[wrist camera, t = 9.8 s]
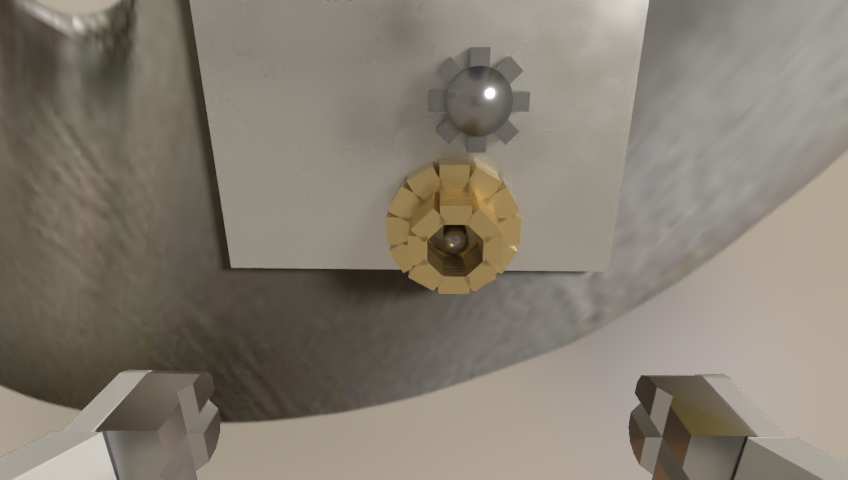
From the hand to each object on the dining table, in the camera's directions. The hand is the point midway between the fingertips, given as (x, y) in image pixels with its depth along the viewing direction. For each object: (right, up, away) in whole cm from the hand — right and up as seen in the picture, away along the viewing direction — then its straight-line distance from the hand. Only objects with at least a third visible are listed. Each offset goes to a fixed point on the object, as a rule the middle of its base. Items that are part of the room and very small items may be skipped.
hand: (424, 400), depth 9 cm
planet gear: (+2, +4, +17) cm, 18 cm away
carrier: (0, +11, +16) cm, 19 cm away
